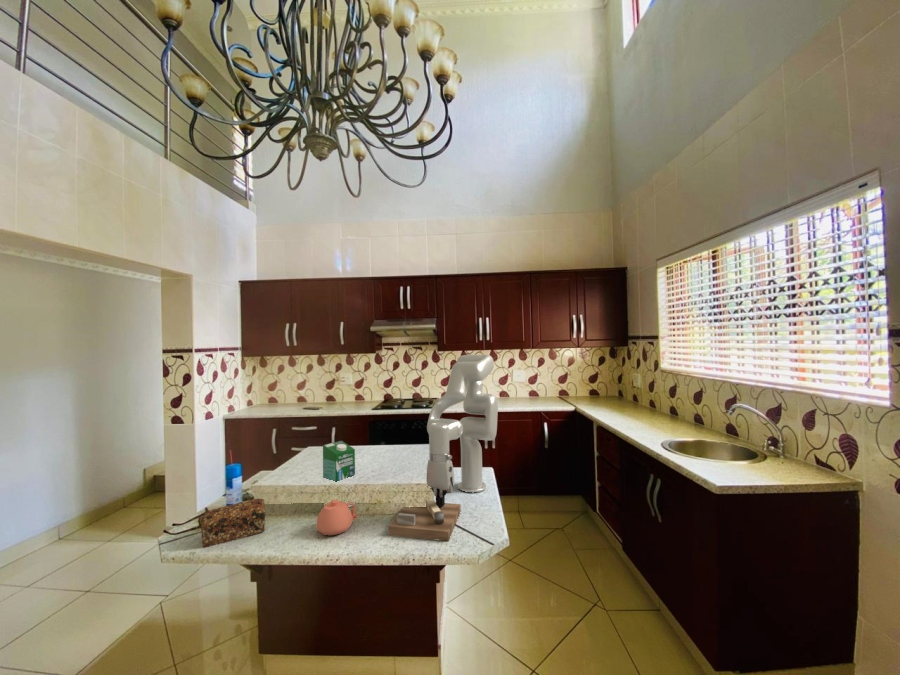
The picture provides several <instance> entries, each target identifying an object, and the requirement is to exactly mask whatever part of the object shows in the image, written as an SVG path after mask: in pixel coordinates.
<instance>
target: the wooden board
mask: <svg viewBox="0 0 900 675" xmlns="http://www.w3.org/2000/svg"><path fill="white" fill-rule="evenodd" d="M434 502H435V503H436V501H434ZM461 505H462V504H461V503H448V502H445V504H444V506H443V507H441V508H439V509H440V511H441V512H443V513H444V523H442V524H436V523H435V520H434V518H433V517H432V515H431V513H430V512H429V510H428V508H427V507H410V508H409V507H404V506H403V507H402V509H400V511H398V513H397V515H396V516H395V517H394V518H393V519H392V520H391V522H390V524H389V525H388V529H387V530H388V536H395V537H403V538H414V539H415V538H416V539H423V538H426V539H425V540H432V539H439V540H438V541H442V540H447V541H446V542H449V541H450V539H451V537H452V534H453V532H454V530H455V527H456V525H457V523H458V520H459V518H458V517H460V515H461V513H462V511H461V510H462V509H461V507H462V506H461ZM460 512H461V513H460ZM457 519H458V520H457ZM455 524H456V525H455ZM453 529H454V530H453ZM450 536H451V537H450Z"/></svg>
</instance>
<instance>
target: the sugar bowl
mask: <svg viewBox="0 0 900 675" xmlns="http://www.w3.org/2000/svg"><path fill="white" fill-rule="evenodd" d="M348 505H353V506H352V511H351V508H350V507H348ZM355 512H356V503H355V504H354V503H353V502H349V503H347V504H346V503H345V502H343V501H338V500H332V501H331V502H329V503H327V504H325V505H324V507H322V509H321V510H320V511H319V514H318V516H317V518H316V519H317V520H316V523H315V528H316V530H317V531H318V532H319V533H320V534H322V535H324V536H326V535H331V536H336V535H340V534H342V532H343V533H346V532H347V531H348V529H349V528H350V527H351V526H352V524H353V521H356V519H357V518H358V514H357V513H355Z"/></svg>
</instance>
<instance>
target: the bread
mask: <svg viewBox="0 0 900 675" xmlns="http://www.w3.org/2000/svg"><path fill="white" fill-rule="evenodd" d="M265 504H266V503H265V499H263V498H254V499H249V500H246V501H245V500H244V501H243V502H242V501H241V502H240V501H239V502H237V503H232V504H230V505H225V506H221V507H217V508H214V509H209V510H208V511H206V512H205V513H204V514H203V516H202V517H201V518H202V519H201V528H200V530H201V544H202V547H203V548H210V547H211V546H216V544H217V545H221V544H225V542H226V543H229V542H233V541H236V540H240V539H243V538H248V537H252V536H256V535H258V534H261V533H263V532H265V530H266V529H265V527H266V526H265V525H266V505H265ZM232 540H233V541H232Z"/></svg>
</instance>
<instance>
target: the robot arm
mask: <svg viewBox="0 0 900 675" xmlns="http://www.w3.org/2000/svg"><path fill="white" fill-rule="evenodd" d="M456 360H457V361H456V362H455V363H454V364H453V365H452V368H451V369H450V370H451V371H450V374H449V379H448V384H447V387H446V391H445V393H444V394H443V395H442V396H441V397H440V398H439V399H438V400H436V402H435V404H433V406H432V407H431V410H430V413H429V416H428V420H427V425H426V431H427V433H428V439H429V440H428V443H429V444H428V446H429V448H428V449H429V456H428V457H429V459H428V461H427V466H426V485H427V487H428V486H430V487H431V488H430V489H429V490H431V491H432V492H433V495H434V497H435V502H436V505H437V506H438V508H441V507H443V506H444V504H445V503H446V500H445V499H446V498H445V497H446V495H447V494H452V493H453V492H454V488H453V487H454V486H455V471H454V470H455V469H454V465H453V461H452V459H453V455H451V454H450V441H452V440H453V441H454V440H458V439H459V441H460V443H459V444H460V470H461V471H460V473H461V474H460V476H461V481H460V482H459V483H458V485H457V488H458V490H459V489H460V490H459V491H461V490H462V492H463V491H465V492H464V493H467V492H472V493H471V494H475V493H474V492H477V493H482V492H483V490H484V491H485V490H486V489H487V485H486V484H487V483H485V482H483V451H482V450H483V449H482V446H481V442H479V440H480V441H481V440H482V441H494V440H495V439H496V437H497V432H498V431H497V430H498V412H499V411H498V410H499V406H498V404H499V402H498V399H497V397H496V396H495V395H494V394H492V393H483V381H484V380H485V379H486V378H487V377H488V376H489V375H490V374H491V373H492V372H493V370H494V367H495V364H494V358H493V357H492V356H491V355H490V354H464V355H460V356H458V357H457V359H456ZM462 402H463V403H462ZM460 403H462V404H463V406H462V407H463V410H464V412H465V413H466V414H470V415H481V416H484V417H475V416H466V417H462V418H461V419H460V420H458V419H453V418H441V416H442V414H443V413H444V411H446V410H447V409H448V408H450V407H453V406H454V405H457V404H460Z"/></svg>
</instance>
